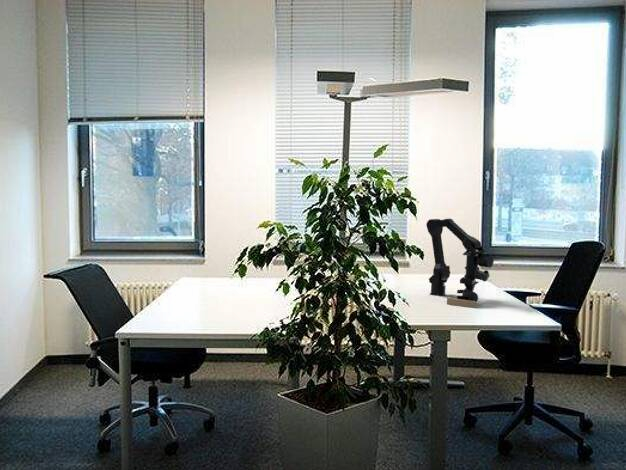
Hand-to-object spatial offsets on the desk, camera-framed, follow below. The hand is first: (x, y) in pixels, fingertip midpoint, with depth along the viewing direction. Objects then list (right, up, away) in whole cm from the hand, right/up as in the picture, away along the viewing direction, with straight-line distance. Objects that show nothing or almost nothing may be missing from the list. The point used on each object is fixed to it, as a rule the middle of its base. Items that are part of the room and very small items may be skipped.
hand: (470, 295), depth 323 cm
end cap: (-4, -3, -8) cm, 10 cm away
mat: (-4, -3, -7) cm, 8 cm away
